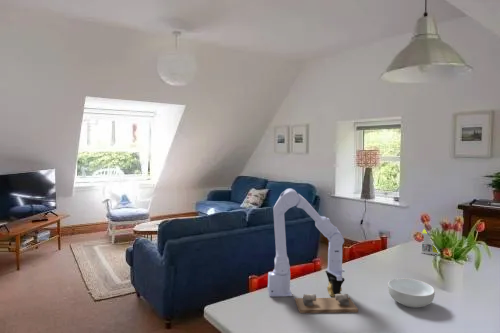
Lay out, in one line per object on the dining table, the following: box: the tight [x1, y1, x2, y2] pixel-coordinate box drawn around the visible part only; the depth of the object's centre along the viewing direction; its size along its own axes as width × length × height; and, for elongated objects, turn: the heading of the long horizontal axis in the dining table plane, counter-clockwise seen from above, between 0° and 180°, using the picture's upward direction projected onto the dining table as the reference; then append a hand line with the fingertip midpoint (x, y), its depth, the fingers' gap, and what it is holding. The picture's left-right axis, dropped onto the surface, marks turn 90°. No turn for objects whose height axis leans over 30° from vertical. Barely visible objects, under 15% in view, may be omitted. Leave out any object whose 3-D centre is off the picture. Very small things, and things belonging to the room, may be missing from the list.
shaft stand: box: [294, 293, 359, 314], centre depth 137 cm, size 22×10×5 cm, turn 92°
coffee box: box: [420, 228, 438, 256], centre depth 208 cm, size 12×12×12 cm
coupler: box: [326, 281, 343, 298], centre depth 148 cm, size 6×4×5 cm
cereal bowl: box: [387, 277, 436, 309], centre depth 140 cm, size 17×17×7 cm
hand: (334, 291), depth 148 cm, fingers open, 5 cm apart
